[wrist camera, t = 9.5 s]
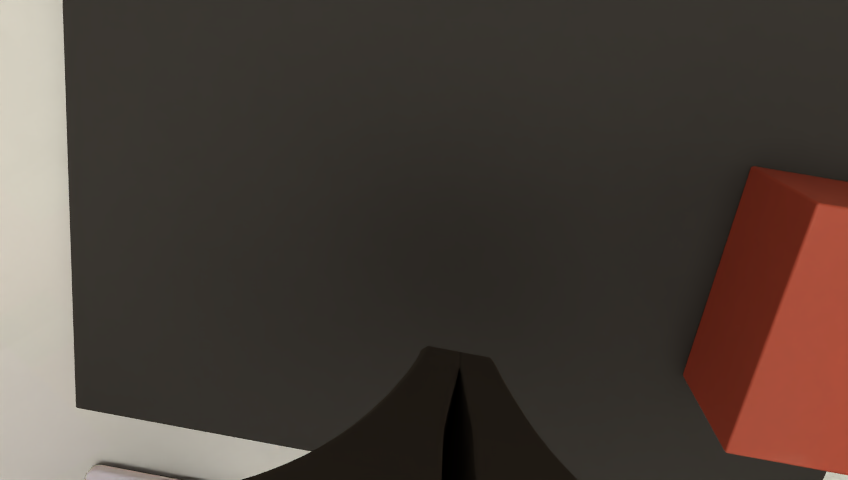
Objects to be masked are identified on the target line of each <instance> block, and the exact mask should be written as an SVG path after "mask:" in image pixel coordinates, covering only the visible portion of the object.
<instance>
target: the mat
mask: <svg viewBox="0 0 848 480" xmlns="http://www.w3.org/2000/svg"><path fill="white" fill-rule="evenodd" d="M63 24H64V54H65V85H66V115H67V145H68V175H69V206H70V236H71V266H72V296H73V327H74V357H75V387H76V407H77V408H81V409H87V410H92V411H97V412H103V413H108V414H114V415H119V416H124V417H130V418H135V419H140V420H146V421H151V422H157V423H162V424H167V425H173V426H178V427H183V428H189V429H194V430H200V431H205V432H210V433H216V434H221V435H226V436H232V437H237V438H243V439H248V440H253V441H259V442H264V443H269V444H275V445H280V446H286V447H291V448H296V449H302V450H307V451H314V450H315V449H317V448H319V447H320V446H322V445H324V444H325V443H327V442H329V441H330V440H332V439H333V438H335V437H337V436H338V435H340V434H341V433H342V432H344V431H345V430H347V429H348V428H349V427H351V426H352V425H353V424H355V423H356V422H357V421H358V420H360V419H361V418H362V417H363V416H365V415H366V414H367V413H368V412H369V411H370V410H371V409H372V408H374V407H375V406H376V405H377V404H378V403H379V402H380V401H381V400H382V399H383V398H384V397H385V396H386V395H387V394H388V393H389V392H390V391H391V390H392V389H393V388H394V387H395V386H396V385H397V383H398V382H399V381H400V380H401V379H402V378H403V377H404V376H405V374H406V373H407V372H408V370H409V369H410V368H411V367H412V365H413V364H414V362H415V361H416V359H417V357H418V356H419V354H420V351H421V350H422V349H423V348H425V347H427V346H432V347H437V348H442V349H448V350H453V351H458V352H464V353H469V354H474V355H480V356H485V357H490V358H491V359H492V360H493V362H494V363H495V365H496V367H497V369H498V371H499V373H500V375H501V376H502V378H503V380H504V382H505V384H506V385H507V387H508V389H509V391H510V392H511V394H512V396H513V398H514V399H515V401H516V402H517V404H518V406H519V407H520V409H521V410H522V412H523V413H524V415H525V416H526V418H527V419H528V421H529V423H530V424H531V425H532V427H533V428H534V430H535V431H536V432H537V434H538V435H539V436H540V438H541V439H542V440H543V441H544V443H545V444H546V445H547V447H548V448H549V449H550V450H551V451H552V453H553V454H554V455H555V456H556V457H557V458H558V460H559V461H560V462H561V463H562V464H563V465H564V466H565V467H566V468H567V469H568V470H569V471H570V472H571V473H572V474H573V475H574V477H575V478H576V479H577V480H823V478H824V476H825V474H826V471H822V470H817V469H812V468H806V467H801V466H795V465H790V464H784V463H779V462H773V461H768V460H762V459H757V458H751V457H746V456H741V455H735V454H730V453H726V452H725V451H724V449H723V447H722V446H721V444H720V442H719V440H718V438H717V437H716V435H715V433H714V431H713V429H712V427H711V426H710V424H709V422H708V420H707V418H706V417H705V415H704V413H703V411H702V409H701V408H700V406H699V404H698V402H697V400H696V398H695V397H694V395H693V393H692V391H691V389H690V388H689V386H688V384H687V382H686V380H685V379H684V377H683V373H684V370H685V367H686V364H687V361H688V358H689V355H690V352H691V349H692V346H693V343H694V339H695V336H696V333H697V330H698V327H699V324H700V321H701V318H702V315H703V312H704V309H705V306H706V303H707V300H708V297H709V294H710V291H711V288H712V285H713V282H714V279H715V276H716V273H717V270H718V267H719V264H720V260H721V257H722V254H723V251H724V248H725V245H726V242H727V239H728V236H729V233H730V230H731V227H732V224H733V221H734V218H735V215H736V212H737V209H738V206H739V203H740V200H741V197H742V194H743V191H744V188H745V184H746V181H747V178H748V175H749V172H750V169H751V167H753V166H756V167H762V168H768V169H774V170H780V171H786V172H792V173H798V174H804V175H810V176H816V177H822V178H828V179H834V180H840V181H846V182H848V0H63Z"/></svg>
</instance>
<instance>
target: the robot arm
mask: <svg viewBox="0 0 848 480" xmlns="http://www.w3.org/2000/svg"><path fill="white" fill-rule="evenodd" d="M85 480H179V479H173V478H168V477H163V476H158V475H152V474H147V473H142V472H136V471H131V470H126V469H121V468H115V467H110V466H105V465H95V466H93V467H92V468H91V469H90V470H89V471H88V472H87V473H86V475H85ZM242 480H577V479H576V478H575V477H574V475H573V474H572V473H571V472H570V471H569V470H568V469H567V468H566V467H565V466H564V465H563V464H562V463H561V462H560V461H559V460H558V458H557V457H556V456H555V455H554V454H553V453H552V451H551V450H550V449H549V448H548V447H547V445H546V444H545V443H544V441H543V440H542V439H541V438H540V436H539V435H538V434H537V432H536V431H535V430H534V428H533V427H532V425H531V424H530V423H529V421H528V419H527V418H526V416H525V415H524V413H523V412H522V410H521V409H520V407H519V406H518V404H517V402H516V401H515V399H514V398H513V396H512V394H511V392H510V391H509V389H508V387H507V385H506V384H505V382H504V380H503V378H502V376H501V375H500V373H499V371H498V369H497V367H496V365H495V363H494V362H493V360H492V359H491V358H490V357H485V356H480V355H474V354H469V353H464V352H458V351H453V350H448V349H442V348H437V347H432V346H427V347H425V348H423V349H422V350H421V351H420V354H419V356H418V357H417V359H416V361H415V362H414V364H413V365H412V367H411V368H410V369H409V370H408V372H407V373H406V374H405V376H404V377H403V378H402V379H401V380H400V381H399V382H398V383H397V385H396V386H395V387H394V388H393V389H392V390H391V391H390V392H389V393H388V394H387V395H386V396H385V397H384V398H383V399H382V400H381V401H380V402H379V403H378V404H377V405H376V406H375V407H374V408H372V409H371V410H370V411H369V412H368V413H367V414H366V415H365V416H363V417H362V418H361V419H360V420H358V421H357V422H356V423H355V424H353V425H352V426H351V427H349V428H348V429H347V430H345V431H344V432H342V433H341V434H340V435H338V436H337V437H335V438H333V439H332V440H330V441H329V442H327V443H325V444H324V445H322V446H320V447H319V448H317V449H315V450H314V451H312V452H310V453H308V454H306V455H304V456H302V457H300V458H298V459H296V460H293V461H291V462H289V463H287V464H284V465H282V466H279V467H277V468H274V469H272V470H269V471H267V472H264V473H261V474H258V475H256V476H252V477H249V478H245V479H242Z"/></svg>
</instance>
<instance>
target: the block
mask: <svg viewBox="0 0 848 480" xmlns="http://www.w3.org/2000/svg"><path fill="white" fill-rule="evenodd" d="M683 377H684V379H685V380H686V382H687V384H688V386H689V388H690V389H691V391H692V393H693V395H694V397H695V398H696V400H697V402H698V404H699V406H700V408H701V409H702V411H703V413H704V415H705V417H706V418H707V420H708V422H709V424H710V426H711V427H712V429H713V431H714V433H715V435H716V437H717V438H718V440H719V442H720V444H721V446H722V447H723V449H724V451H725V452H726V453H730V454H735V455H741V456H746V457H751V458H757V459H762V460H768V461H773V462H779V463H784V464H790V465H795V466H801V467H806V468H812V469H817V470H822V471H828V472H833V473H839V474H844V475H848V182H846V181H840V180H834V179H828V178H822V177H816V176H810V175H804V174H798V173H792V172H786V171H780V170H774V169H768V168H762V167H756V166H753V167H751V169H750V172H749V175H748V178H747V181H746V184H745V188H744V191H743V194H742V197H741V200H740V203H739V206H738V209H737V212H736V215H735V218H734V221H733V224H732V227H731V230H730V233H729V236H728V239H727V242H726V245H725V248H724V251H723V254H722V257H721V260H720V264H719V267H718V270H717V273H716V276H715V279H714V282H713V285H712V288H711V291H710V294H709V297H708V300H707V303H706V306H705V309H704V312H703V315H702V318H701V321H700V324H699V327H698V330H697V333H696V336H695V339H694V343H693V346H692V349H691V352H690V355H689V358H688V361H687V364H686V367H685V370H684V373H683Z"/></svg>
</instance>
